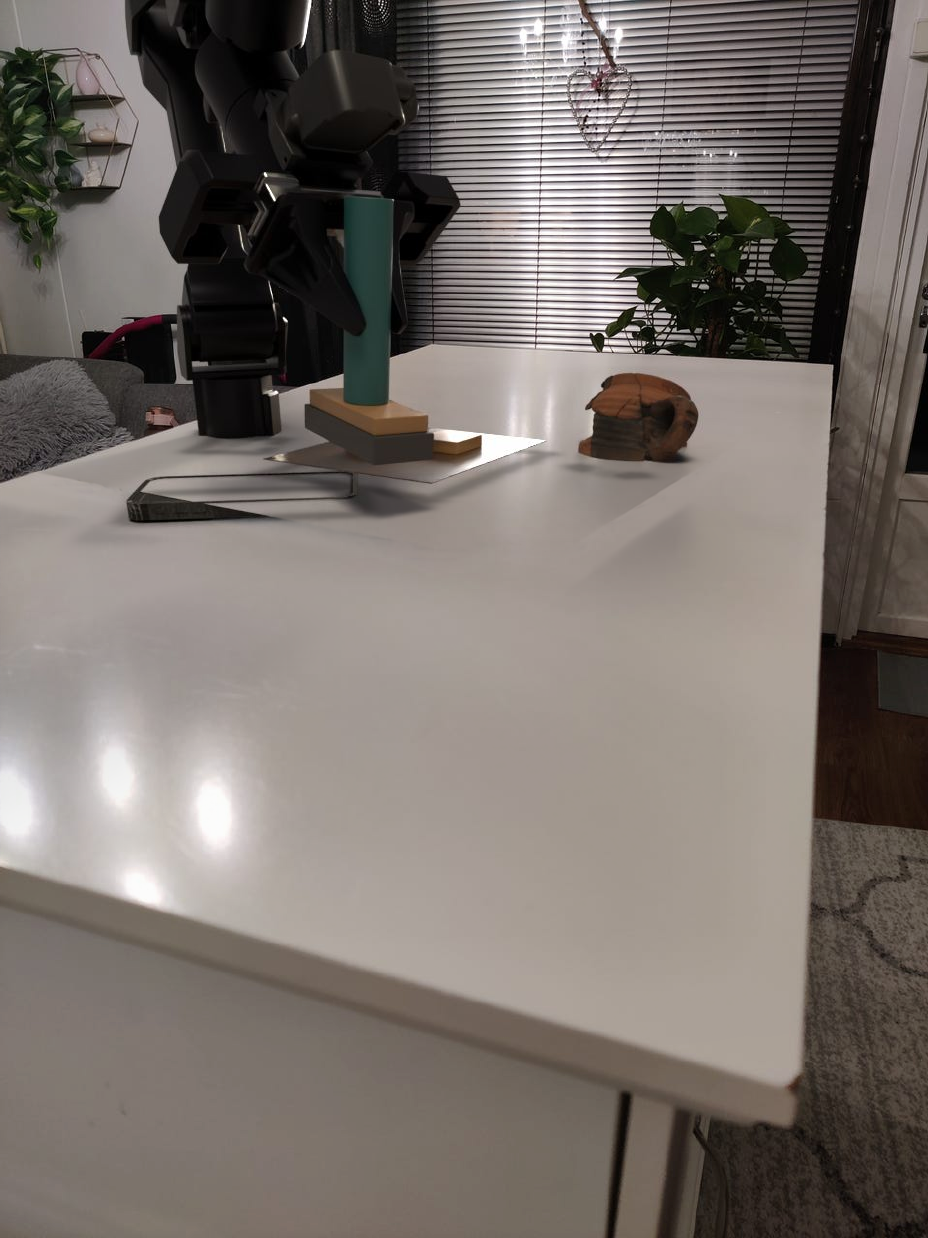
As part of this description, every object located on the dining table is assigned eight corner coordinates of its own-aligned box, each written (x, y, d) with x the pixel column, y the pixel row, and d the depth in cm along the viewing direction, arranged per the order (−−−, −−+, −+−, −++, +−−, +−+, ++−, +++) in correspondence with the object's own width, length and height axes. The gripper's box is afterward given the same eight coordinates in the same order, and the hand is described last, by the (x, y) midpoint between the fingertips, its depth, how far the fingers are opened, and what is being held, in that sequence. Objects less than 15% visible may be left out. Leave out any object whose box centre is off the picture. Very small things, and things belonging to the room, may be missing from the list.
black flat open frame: (148, 476, 63) (356, 470, 65) (150, 492, 64) (357, 484, 65) (121, 505, 56) (357, 496, 58) (124, 521, 56) (358, 513, 58)
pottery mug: (546, 467, 73) (572, 374, 74) (628, 505, 78) (652, 417, 78) (642, 455, 63) (671, 347, 63) (731, 499, 68) (757, 398, 68)
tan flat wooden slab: (415, 449, 72) (415, 437, 72) (442, 441, 75) (442, 429, 75) (457, 454, 70) (456, 442, 70) (482, 446, 73) (482, 434, 73)
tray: (264, 473, 70) (262, 458, 69) (396, 436, 84) (395, 424, 83) (431, 499, 62) (431, 483, 61) (546, 454, 76) (546, 440, 76)
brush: (304, 428, 58) (300, 193, 52) (358, 424, 60) (361, 198, 54) (373, 465, 50) (378, 196, 45) (433, 459, 52) (445, 201, 47)
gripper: (165, -43, 42) (305, 223, 39) (448, 29, 54) (567, 235, 52) (109, 145, 50) (223, 374, 48) (365, 171, 62) (465, 354, 60)
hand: (381, 330), depth 51 cm, fingers closed on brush, 3 cm apart
